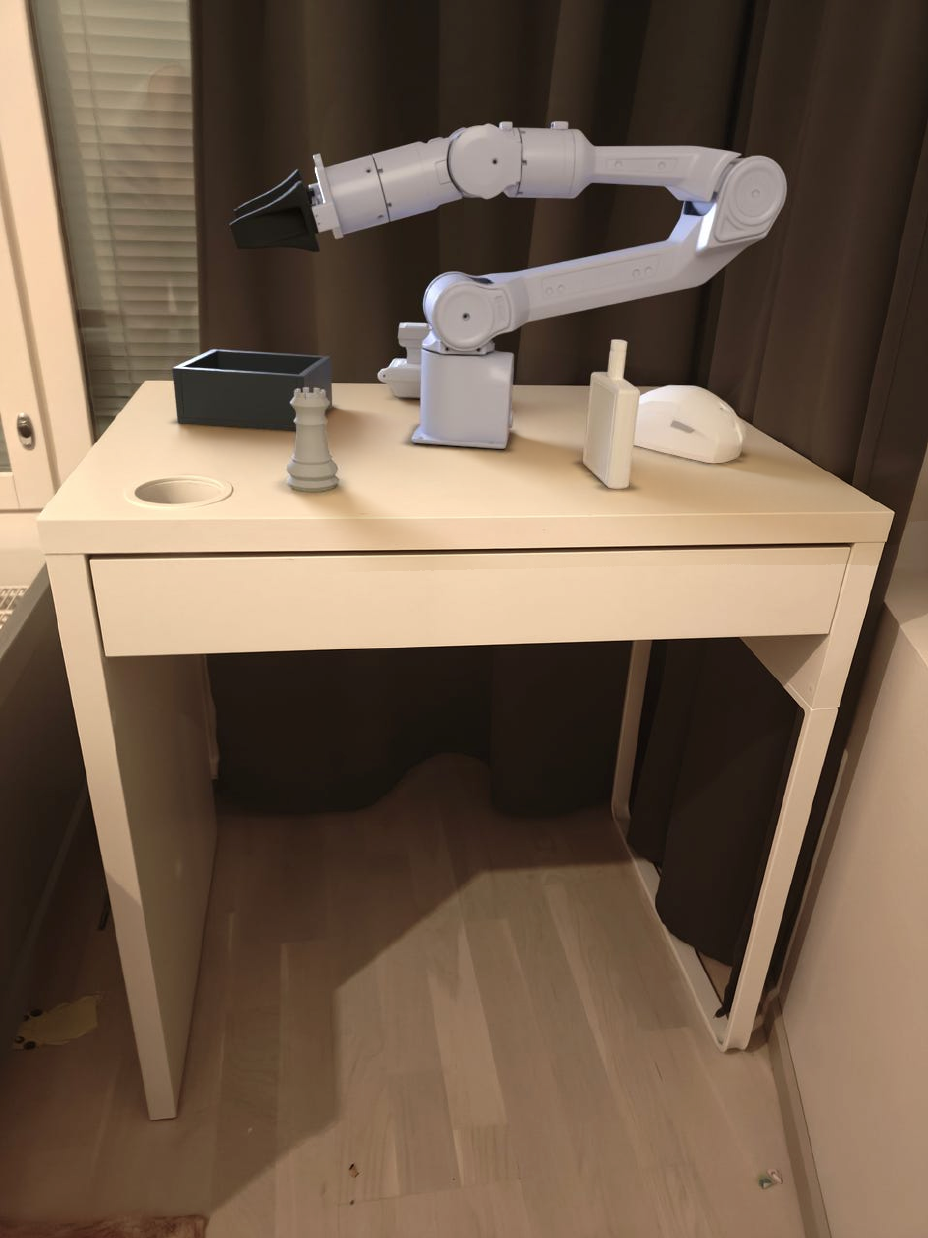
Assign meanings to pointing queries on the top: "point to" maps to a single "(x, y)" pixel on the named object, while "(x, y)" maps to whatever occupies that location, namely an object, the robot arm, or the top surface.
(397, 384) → the white mechanical part
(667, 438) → the computer mouse
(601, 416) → the perfume bottle
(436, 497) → the top surface
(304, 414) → the rook chess piece
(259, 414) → the storage bin
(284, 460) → the top surface
